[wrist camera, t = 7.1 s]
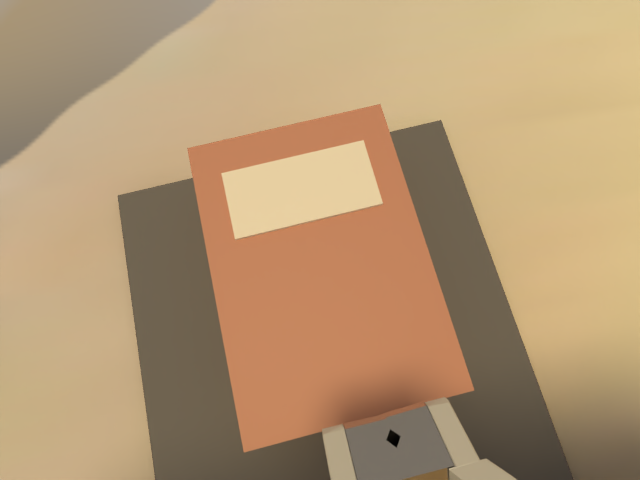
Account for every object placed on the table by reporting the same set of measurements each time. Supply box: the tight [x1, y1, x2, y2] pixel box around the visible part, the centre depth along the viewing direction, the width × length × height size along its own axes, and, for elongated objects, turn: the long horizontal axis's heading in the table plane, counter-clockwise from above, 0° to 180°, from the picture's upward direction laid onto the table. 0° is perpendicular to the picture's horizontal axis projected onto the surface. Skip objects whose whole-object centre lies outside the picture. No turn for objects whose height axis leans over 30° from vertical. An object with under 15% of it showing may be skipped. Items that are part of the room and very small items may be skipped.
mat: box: [118, 120, 573, 480], centre depth 16 cm, size 22×14×1 cm, turn 14°
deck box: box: [187, 104, 474, 452], centre depth 15 cm, size 3×7×10 cm
